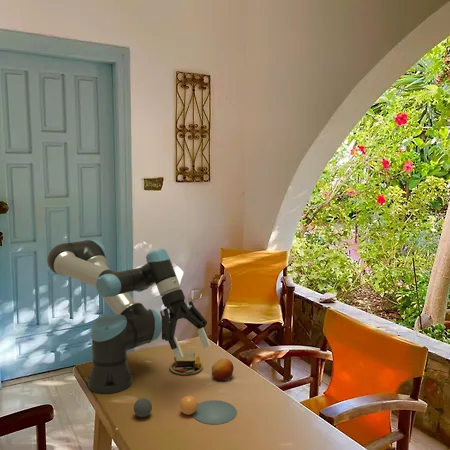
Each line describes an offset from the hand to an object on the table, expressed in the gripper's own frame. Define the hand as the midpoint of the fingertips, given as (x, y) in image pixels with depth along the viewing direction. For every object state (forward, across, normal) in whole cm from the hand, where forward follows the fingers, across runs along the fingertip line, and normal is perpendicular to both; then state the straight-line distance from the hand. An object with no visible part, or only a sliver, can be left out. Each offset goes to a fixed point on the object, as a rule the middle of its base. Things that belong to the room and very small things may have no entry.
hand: (194, 352), depth 154 cm
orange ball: (+14, -9, +1) cm, 17 cm away
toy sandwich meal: (+4, +15, +22) cm, 27 cm away
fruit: (+12, +17, +8) cm, 23 cm away
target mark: (+19, -4, -2) cm, 20 cm away
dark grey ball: (+9, -19, +10) cm, 23 cm away
